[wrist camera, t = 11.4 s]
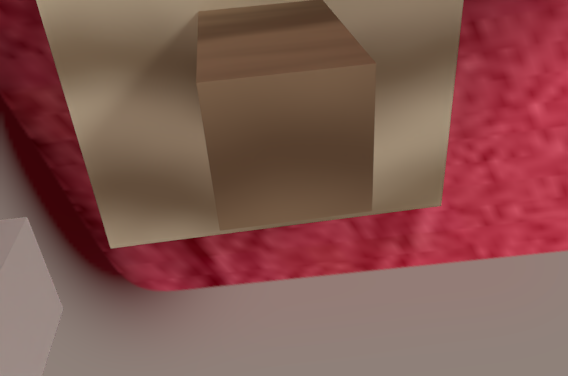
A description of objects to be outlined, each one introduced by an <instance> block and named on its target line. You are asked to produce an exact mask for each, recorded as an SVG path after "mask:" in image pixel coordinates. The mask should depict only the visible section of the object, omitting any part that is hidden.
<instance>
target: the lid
mask: <svg viewBox="0 0 568 376" xmlns="http://www.w3.org/2000/svg"><path fill="white" fill-rule="evenodd" d="M463 1H464V0H36V2H37V6H38V9H39V12H40V16H41V19H42V22H43V26H44V29H45V32H46V36H47V39H48V42H49V46H50V49H51V52H52V56H53V59H54V62H55V66H56V69H57V72H58V76H59V79H60V82H61V85H62V89H63V92H64V95H65V99H66V102H67V105H68V109H69V112H70V115H71V119H72V122H73V125H74V129H75V132H76V135H77V139H78V142H79V145H80V149H81V152H82V155H83V158H84V162H85V165H86V168H87V172H88V175H89V178H90V182H91V185H92V188H93V192H94V195H95V198H96V202H97V205H98V208H99V212H100V215H101V218H102V222H103V225H104V228H105V232H106V235H107V238H108V241H109V245H110V248H118V247H126V246H134V245H142V244H149V243H157V242H165V241H173V240H180V239H188V238H196V237H204V236H211V235H219V234H227V233H234V232H242V231H250V230H258V229H265V228H273V227H281V226H289V225H296V224H304V223H312V222H320V221H327V220H335V219H343V218H351V217H358V216H366V215H374V214H381V213H389V212H397V211H405V210H412V209H420V208H428V207H436V206H441V201H442V192H443V183H444V174H445V165H446V156H447V147H448V138H449V129H450V120H451V110H452V101H453V92H454V83H455V74H456V65H457V56H458V47H459V38H460V29H461V19H462V10H463Z"/></svg>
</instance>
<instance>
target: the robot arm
mask: <svg viewBox="0 0 568 376" xmlns="http://www.w3.org/2000/svg"><path fill="white" fill-rule="evenodd" d="M62 312H63V306H62V304H61V301H60V298H59V296H58V293H57V291H56V288H55V286H54V283H53V281H52V278H51V276H50V273H49V271H48V268H47V266H46V263H45V261H44V258H43V256H42V253H41V251H40V248H39V246H38V243H37V241H36V238H35V235H34V233H33V230H32V228H31V225H30V223H29V220H28V218H27V217H20V218H11V219H3V220H0V376H42V375H43V372H44V369H45V365H46V362H47V359H48V356H49V353H50V350H51V347H52V343H53V340H54V337H55V334H56V331H57V328H58V325H59V322H60V318H61V315H62Z"/></svg>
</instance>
